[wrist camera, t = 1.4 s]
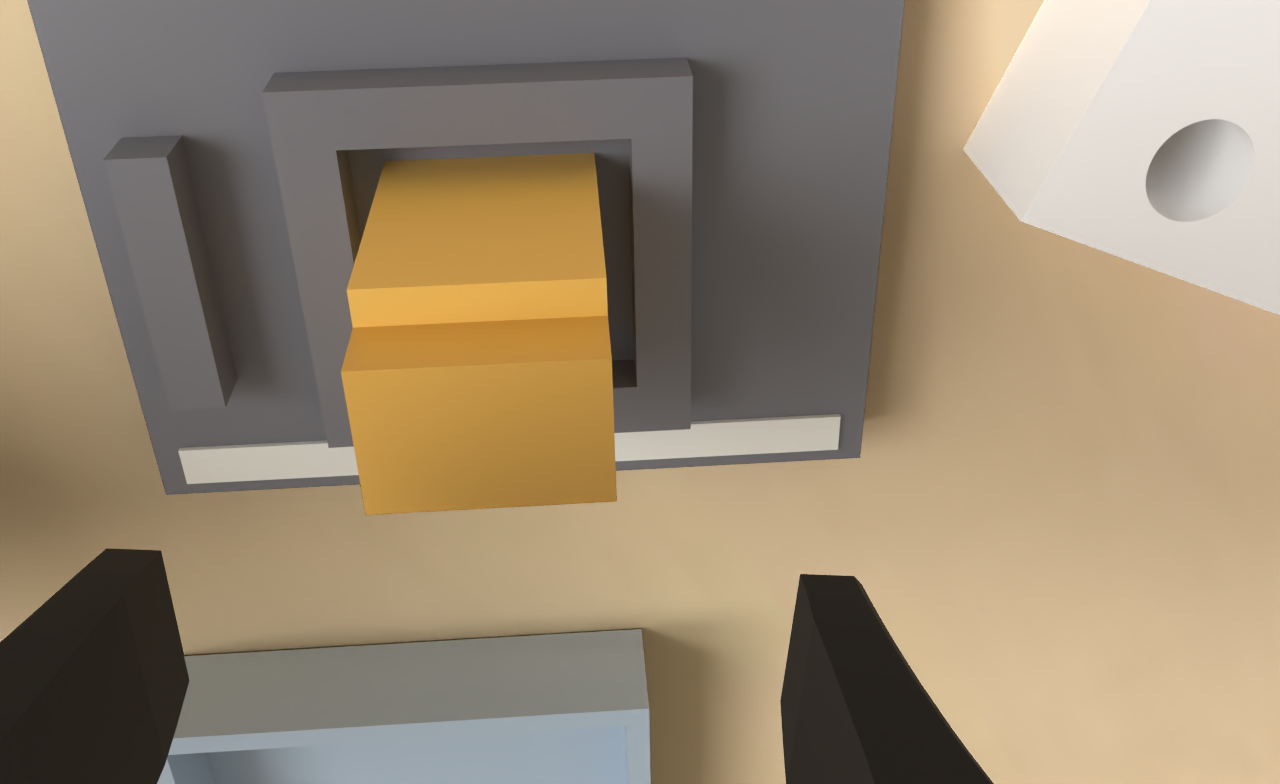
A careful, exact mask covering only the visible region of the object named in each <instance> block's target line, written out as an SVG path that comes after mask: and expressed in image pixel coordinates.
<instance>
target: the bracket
mask: <svg viewBox="0 0 1280 784" xmlns="http://www.w3.org/2000/svg"><path fill="white" fill-rule="evenodd" d="M963 150H964V151H965V153H966V154H967V155H968V156H969V158H970V159H971V160H972V161H973V163H974V164H975V165H976V166H977V168H978V169H979V170H980V171H981V173H982V174H983V175H984V176H985V178H986V179H987V180H988V181H989V183H990V184H991V185H992V186H993V188H994V189H995V190H996V191H997V193H998V194H999V195H1000V196H1001V198H1002V199H1003V200H1004V201H1005V203H1006V204H1007V205H1008V206H1009V208H1010V209H1011V210H1012V211H1013V213H1014V214H1015V215H1016V216H1017V218H1018V219H1019V220H1020V221H1021V222H1024V223H1026V224H1029V225H1032V226H1035V227H1037V228H1040V229H1043V230H1046V231H1048V232H1051V233H1054V234H1057V235H1059V236H1062V237H1065V238H1068V239H1070V240H1073V241H1076V242H1079V243H1082V244H1084V245H1087V246H1090V247H1093V248H1095V249H1098V250H1101V251H1104V252H1106V253H1109V254H1112V255H1115V256H1117V257H1120V258H1123V259H1126V260H1128V261H1131V262H1134V263H1137V264H1139V265H1142V266H1145V267H1148V268H1151V269H1153V270H1156V271H1159V272H1162V273H1164V274H1167V275H1170V276H1173V277H1175V278H1178V279H1181V280H1184V281H1186V282H1189V283H1192V284H1195V285H1197V286H1200V287H1203V288H1206V289H1209V290H1211V291H1214V292H1217V293H1220V294H1222V295H1225V296H1228V297H1231V298H1233V299H1236V300H1239V301H1242V302H1244V303H1247V304H1250V305H1253V306H1255V307H1258V308H1261V309H1264V310H1267V311H1269V312H1272V313H1275V314H1278V315H1280V0H1044V2H1043V4H1042V5H1041V7H1040V9H1039V11H1038V13H1037V15H1036V16H1035V18H1034V20H1033V22H1032V24H1031V26H1030V27H1029V29H1028V31H1027V33H1026V35H1025V37H1024V38H1023V40H1022V42H1021V44H1020V46H1019V48H1018V49H1017V51H1016V53H1015V55H1014V57H1013V59H1012V60H1011V62H1010V64H1009V66H1008V68H1007V70H1006V71H1005V73H1004V75H1003V77H1002V79H1001V81H1000V82H999V84H998V86H997V88H996V90H995V92H994V93H993V95H992V97H991V99H990V101H989V103H988V104H987V106H986V108H985V110H984V112H983V114H982V115H981V117H980V119H979V121H978V123H977V125H976V126H975V128H974V130H973V132H972V134H971V136H970V137H969V139H968V141H967V143H966V145H965V147H964V148H963Z"/></svg>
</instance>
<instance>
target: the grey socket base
mask: <svg viewBox="0 0 1280 784" xmlns="http://www.w3.org/2000/svg"><path fill="white" fill-rule="evenodd" d="M27 1H28V5H29V8H30V12H31V15H32V19H33V22H34V26H35V30H36V33H37V37H38V40H39V44H40V47H41V51H42V54H43V58H44V62H45V65H46V69H47V72H48V76H49V79H50V83H51V87H52V90H53V94H54V97H55V101H56V104H57V108H58V111H59V115H60V119H61V122H62V126H63V129H64V133H65V136H66V140H67V143H68V147H69V151H70V154H71V158H72V161H73V165H74V168H75V172H76V175H77V179H78V183H79V186H80V190H81V193H82V197H83V200H84V204H85V208H86V211H87V215H88V218H89V222H90V225H91V229H92V232H93V236H94V240H95V243H96V247H97V250H98V254H99V257H100V261H101V264H102V268H103V272H104V275H105V279H106V282H107V286H108V289H109V293H110V297H111V300H112V304H113V307H114V311H115V314H116V318H117V321H118V325H119V329H120V332H121V336H122V339H123V343H124V346H125V350H126V353H127V357H128V361H129V364H130V368H131V371H132V375H133V378H134V382H135V385H136V389H137V393H138V396H139V400H140V403H141V407H142V410H143V414H144V418H145V421H146V425H147V428H148V432H149V435H150V439H151V442H152V446H153V450H154V453H155V457H156V460H157V464H158V467H159V471H160V474H161V478H162V482H163V485H164V489H165V492H166V495H168V494H187V493H206V492H225V491H243V490H262V489H281V488H300V487H318V486H337V485H356V484H360V479H359V474H358V468H357V462H356V456H355V451H354V445H353V439H352V433H351V428H350V422H349V416H348V410H347V405H346V399H345V393H344V387H343V381H342V376H341V369H342V366H343V362H344V358H345V355H346V351H347V347H348V343H349V340H350V336H351V332H352V329H353V326H352V320H351V314H350V308H349V302H348V295H347V287H348V283H349V280H350V277H351V273H352V270H353V267H354V263H355V260H356V256H357V253H358V250H359V246H360V243H361V240H362V236H363V233H364V230H365V226H366V223H367V219H368V216H369V213H370V209H371V206H372V203H373V199H374V196H375V193H376V189H377V186H378V182H379V179H380V176H381V172H382V169H383V166H384V162H385V161H402V160H426V159H451V158H475V157H500V156H524V155H549V154H574V153H594V155H595V165H596V175H597V186H598V196H599V206H600V216H601V227H602V237H603V247H604V258H605V268H606V279H607V307H608V323H609V334H610V344H611V355H612V378H613V408H614V437H615V466H616V471H618V470H637V469H656V468H675V467H693V466H712V465H731V464H750V463H769V462H787V461H806V460H825V459H844V458H860V452H861V442H862V432H863V422H864V411H865V401H866V391H867V381H868V370H869V360H870V350H871V340H872V329H873V319H874V309H875V299H876V288H877V278H878V268H879V258H880V247H881V237H882V227H883V217H884V206H885V196H886V186H887V176H888V165H889V155H890V145H891V135H892V124H893V114H894V104H895V94H896V83H897V73H898V63H899V53H900V42H901V32H902V22H903V12H904V1H905V0H27Z"/></svg>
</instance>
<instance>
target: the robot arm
mask: <svg viewBox="0 0 1280 784" xmlns="http://www.w3.org/2000/svg"><path fill="white" fill-rule="evenodd" d="M188 684H189V676H188V671H187V667H186V662H185V658H184V653H183V649H182V644H181V640H180V635H179V631H178V626H177V621H176V617H175V612H174V608H173V603H172V599H171V594H170V590H169V585H168V581H167V576H166V571H165V567H164V562H163V558H162V553H161V551H157V550H130V549H105V550H104V551H103V552H102V553H101V554H100V555H98V556H97V557H96V558H95V559H94V560H93V561H92V562H90V563H89V564H88V565H87V566H86V567H85V568H84V569H82V570H81V571H80V572H79V573H78V574H77V575H76V576H74V577H73V578H72V579H71V580H70V581H69V582H68V583H67V584H65V585H64V586H63V587H62V588H61V589H60V590H59V591H58V592H56V593H55V594H54V595H53V596H52V597H51V598H50V599H49V600H48V601H46V602H45V603H44V604H43V605H42V606H41V607H40V608H39V609H37V610H36V611H35V612H34V613H33V614H32V615H31V616H30V617H28V618H27V619H26V620H25V621H24V622H23V623H22V624H21V625H19V626H18V627H17V628H16V629H15V630H14V631H13V632H12V633H10V634H9V635H8V636H7V637H6V638H5V639H4V640H2V641H1V642H0V784H157V783H158V780H159V778H160V775H161V773H162V771H163V768H164V766H165V763H166V760H167V757H168V754H169V750H170V747H171V744H172V741H173V737H174V734H175V731H176V727H177V724H178V720H179V717H180V713H181V710H182V706H183V702H184V699H185V695H186V691H187V688H188ZM781 716H782V732H783V748H784V761H785V774H786V784H994V783H993V782H992V781H991V780H990V778H989V777H988V776H987V774H986V773H985V772H984V771H983V769H982V768H981V767H980V765H979V764H978V763H977V762H976V760H975V759H974V758H973V756H972V755H971V754H970V753H969V751H968V750H967V749H966V747H965V746H964V744H963V743H962V742H961V740H960V739H959V738H958V736H957V735H956V734H955V732H954V731H953V730H952V728H951V727H950V725H949V724H948V722H947V721H946V719H945V718H944V717H943V715H942V714H941V712H940V711H939V709H938V708H937V706H936V705H935V704H934V702H933V701H932V699H931V698H930V696H929V695H928V693H927V692H926V690H925V689H924V688H923V686H922V685H921V683H920V682H919V680H918V678H917V677H916V675H915V674H914V672H913V671H912V669H911V668H910V666H909V665H908V663H907V661H906V660H905V658H904V657H903V655H902V653H901V652H900V650H899V648H898V647H897V645H896V644H895V642H894V640H893V639H892V637H891V635H890V634H889V632H888V630H887V629H886V627H885V625H884V624H883V622H882V620H881V618H880V617H879V615H878V613H877V611H876V610H875V608H874V606H873V604H872V602H871V601H870V599H869V597H868V595H867V593H866V592H865V590H864V588H863V586H862V584H861V583H860V582H859V581H858V580H857V579H856V578H855V577H854V576H834V575H807V574H800V580H799V586H798V592H797V599H796V605H795V612H794V618H793V624H792V631H791V637H790V644H789V650H788V657H787V663H786V669H785V676H784V682H783V689H782V695H781Z"/></svg>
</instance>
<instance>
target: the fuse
mask: <svg viewBox="0 0 1280 784" xmlns="http://www.w3.org/2000/svg"><path fill="white" fill-rule="evenodd" d="M347 295H348V302H349V308H350V314H351V320H352V326H353V329H352V332H351V336H350V340H349V343H348V347H347V351H346V355H345V358H344V362H343V366H342V369H341V376H342V381H343V387H344V393H345V399H346V405H347V410H348V416H349V422H350V428H351V433H352V439H353V445H354V451H355V456H356V462H357V468H358V474H359V479H360V485H361V491H362V497H363V503H364V508H365V514H366V515H374V514H393V513H411V512H429V511H448V510H466V509H484V508H503V507H521V506H539V505H558V504H576V503H594V502H613V501H617V496H616V466H615V437H614V408H613V378H612V355H611V344H610V334H609V323H608V307H607V279H606V268H605V258H604V247H603V237H602V227H601V216H600V206H599V196H598V186H597V175H596V165H595V155H594V153H574V154H549V155H524V156H500V157H475V158H451V159H426V160H402V161H385V162H384V166H383V169H382V172H381V176H380V179H379V182H378V186H377V189H376V193H375V196H374V199H373V203H372V206H371V209H370V213H369V216H368V219H367V223H366V226H365V230H364V233H363V236H362V240H361V243H360V246H359V250H358V253H357V256H356V260H355V263H354V267H353V270H352V273H351V277H350V280H349V283H348V287H347Z"/></svg>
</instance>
